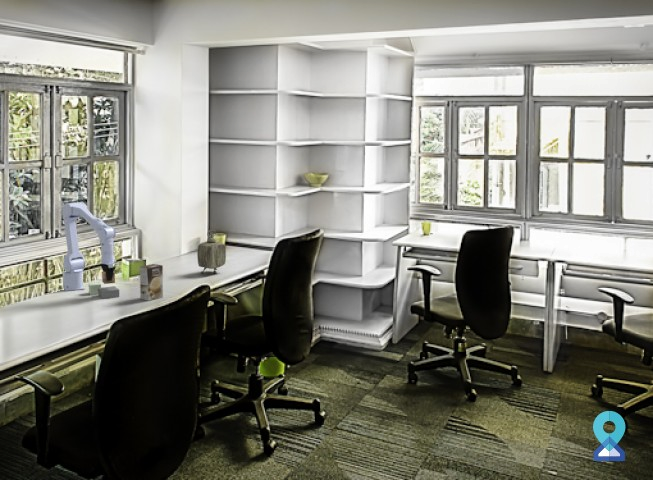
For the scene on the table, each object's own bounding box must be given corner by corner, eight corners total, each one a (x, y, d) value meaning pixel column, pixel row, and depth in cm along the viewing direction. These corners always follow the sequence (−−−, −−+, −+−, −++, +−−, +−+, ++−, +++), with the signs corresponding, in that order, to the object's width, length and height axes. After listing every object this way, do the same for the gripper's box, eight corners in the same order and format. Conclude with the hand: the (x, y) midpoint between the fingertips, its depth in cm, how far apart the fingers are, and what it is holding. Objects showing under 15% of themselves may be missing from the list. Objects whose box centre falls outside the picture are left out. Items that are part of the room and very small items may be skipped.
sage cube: (90, 295, 354) (90, 285, 354) (88, 292, 359) (88, 283, 358) (101, 294, 357) (100, 284, 356) (99, 292, 361) (98, 282, 360)
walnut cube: (104, 283, 349) (104, 273, 348) (102, 281, 353) (102, 271, 352) (115, 283, 351) (114, 272, 350) (112, 280, 355) (112, 270, 354)
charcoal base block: (102, 299, 348) (102, 291, 347) (98, 295, 354) (98, 287, 354) (119, 297, 352) (119, 289, 351) (114, 294, 359) (114, 286, 358)
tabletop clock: (215, 270, 415) (215, 227, 411) (227, 272, 410) (227, 229, 406) (197, 274, 404) (197, 230, 399) (209, 276, 399) (208, 232, 394)
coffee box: (149, 301, 346) (148, 268, 343) (140, 298, 349) (139, 266, 346) (163, 297, 353) (162, 265, 350) (154, 295, 357) (153, 263, 354)
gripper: (119, 254, 345) (120, 281, 347) (112, 248, 357) (113, 275, 360) (104, 255, 342) (104, 283, 344) (97, 249, 354) (98, 276, 357)
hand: (108, 279), depth 352 cm, fingers closed on walnut cube, 5 cm apart
